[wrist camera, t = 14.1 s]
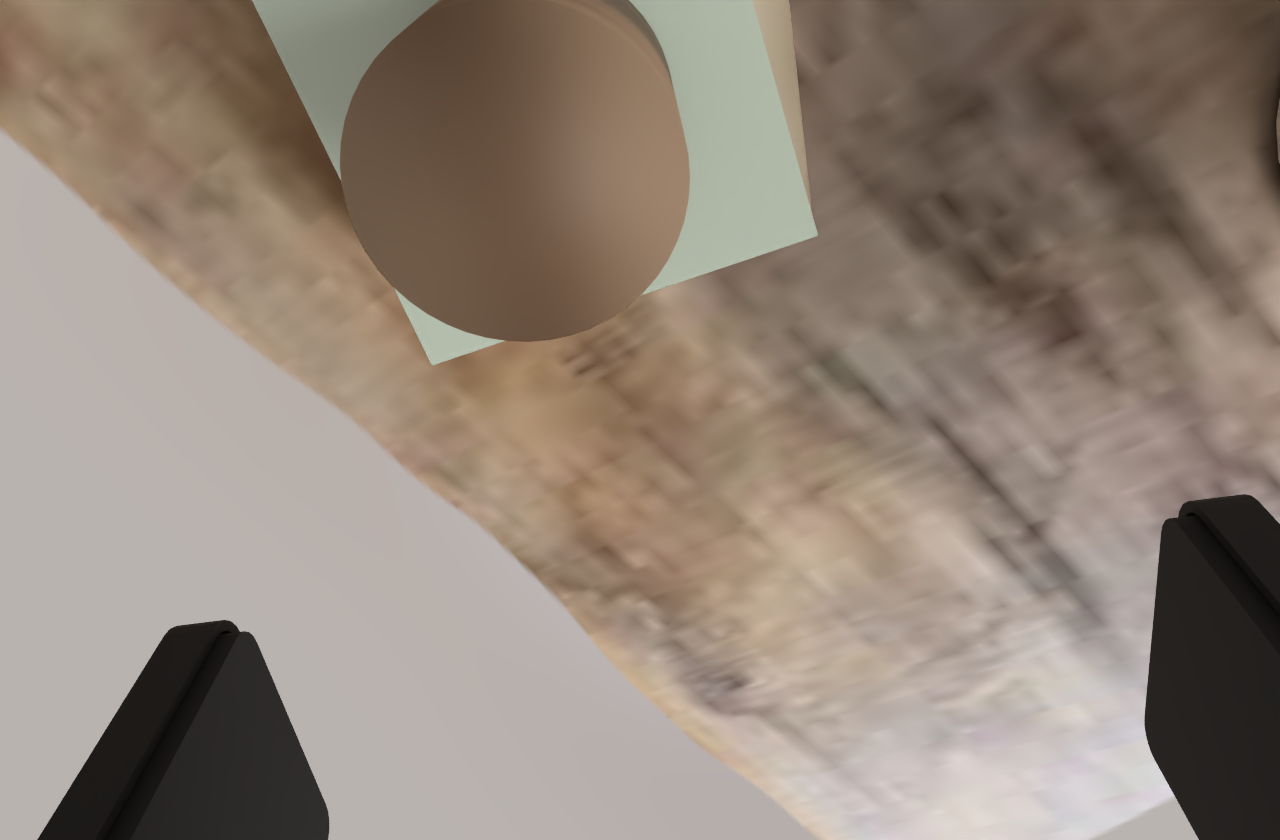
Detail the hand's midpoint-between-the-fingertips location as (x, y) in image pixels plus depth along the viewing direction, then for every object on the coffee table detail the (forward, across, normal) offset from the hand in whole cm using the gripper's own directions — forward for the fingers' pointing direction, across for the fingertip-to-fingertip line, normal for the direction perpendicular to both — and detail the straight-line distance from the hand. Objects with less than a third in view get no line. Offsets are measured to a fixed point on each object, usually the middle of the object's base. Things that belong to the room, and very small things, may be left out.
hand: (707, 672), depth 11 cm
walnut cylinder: (+16, +3, -3) cm, 16 cm away
